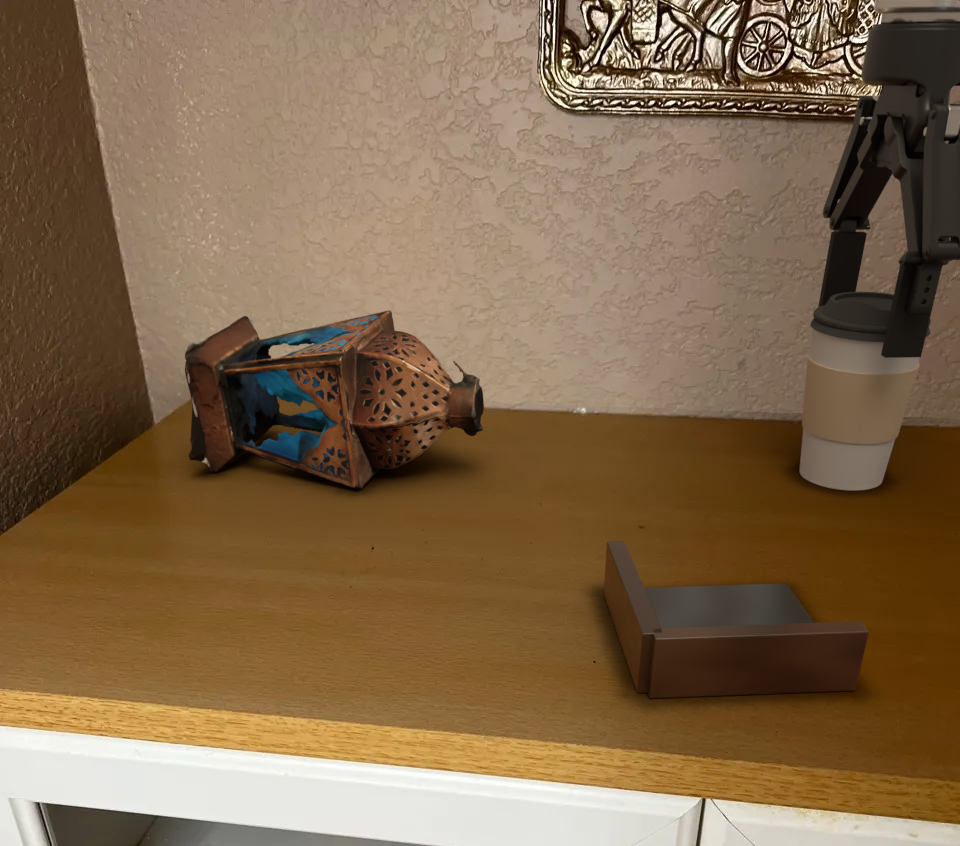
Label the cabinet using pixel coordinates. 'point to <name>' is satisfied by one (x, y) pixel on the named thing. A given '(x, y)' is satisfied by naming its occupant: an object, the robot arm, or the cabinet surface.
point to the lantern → (325, 398)
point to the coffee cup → (852, 393)
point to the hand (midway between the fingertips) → (864, 333)
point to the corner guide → (725, 638)
